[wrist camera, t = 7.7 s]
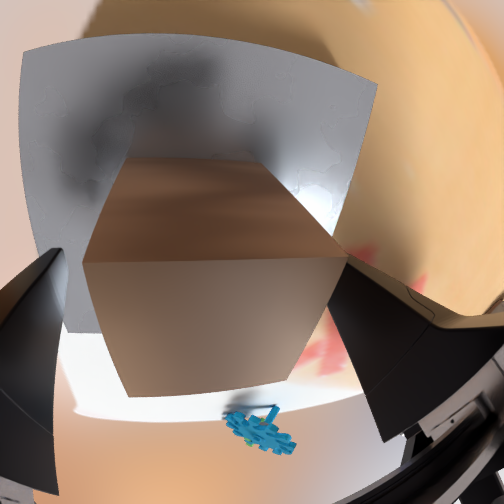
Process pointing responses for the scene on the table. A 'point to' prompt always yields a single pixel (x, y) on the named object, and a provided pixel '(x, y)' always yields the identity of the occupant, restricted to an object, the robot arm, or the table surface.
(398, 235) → the table surface
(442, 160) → the table surface
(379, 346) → the robot arm
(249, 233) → the walnut block
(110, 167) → the base plate
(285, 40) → the table surface
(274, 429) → the blue spiky blob
